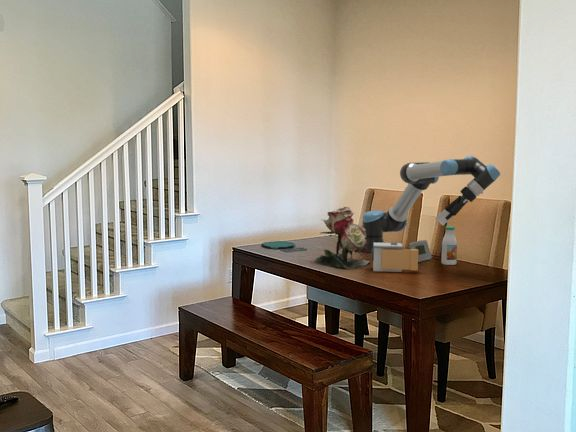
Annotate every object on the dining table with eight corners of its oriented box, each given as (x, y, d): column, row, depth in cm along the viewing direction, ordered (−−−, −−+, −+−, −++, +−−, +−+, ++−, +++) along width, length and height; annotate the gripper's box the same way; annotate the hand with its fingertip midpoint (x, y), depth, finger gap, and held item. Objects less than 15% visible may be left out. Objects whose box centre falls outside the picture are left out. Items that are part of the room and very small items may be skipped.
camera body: (400, 268, 308) (401, 241, 306) (402, 272, 297) (402, 244, 296) (371, 267, 310) (371, 240, 308) (371, 271, 299) (372, 244, 297)
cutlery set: (283, 243, 384) (283, 239, 384) (310, 251, 359) (310, 247, 358) (256, 246, 374) (256, 242, 373) (281, 254, 348) (281, 250, 348)
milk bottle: (440, 264, 317) (441, 227, 314) (442, 262, 324) (443, 225, 321) (455, 265, 314) (457, 227, 311) (456, 263, 321) (458, 225, 319)
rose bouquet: (354, 271, 301) (354, 211, 298) (309, 263, 321) (309, 207, 317) (382, 263, 320) (383, 207, 316) (338, 256, 340) (339, 203, 336)
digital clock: (414, 263, 319) (414, 244, 318) (402, 261, 327) (403, 241, 325) (436, 260, 328) (436, 241, 327) (424, 257, 335) (424, 239, 334)
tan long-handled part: (417, 269, 298) (417, 249, 297) (417, 270, 295) (418, 250, 294) (381, 268, 300) (381, 248, 299) (381, 269, 297) (382, 249, 296)
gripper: (482, 199, 276) (447, 230, 280) (472, 194, 301) (440, 224, 305) (470, 187, 277) (436, 219, 280) (461, 184, 301) (430, 213, 305)
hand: (438, 221), depth 292 cm, fingers open, 13 cm apart
